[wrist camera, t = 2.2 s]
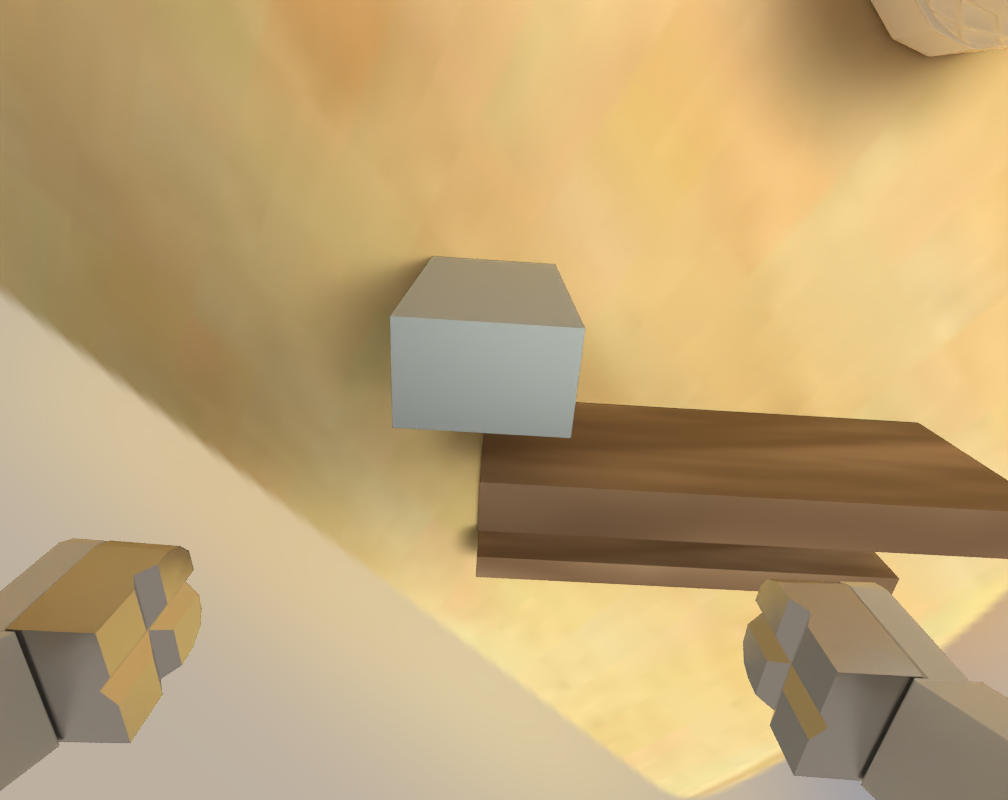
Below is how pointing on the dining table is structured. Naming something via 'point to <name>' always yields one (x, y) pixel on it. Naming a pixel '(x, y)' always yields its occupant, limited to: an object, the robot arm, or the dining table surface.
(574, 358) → the cabinet block
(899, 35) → the white cup
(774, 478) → the cleat board
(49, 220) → the dining table surface
